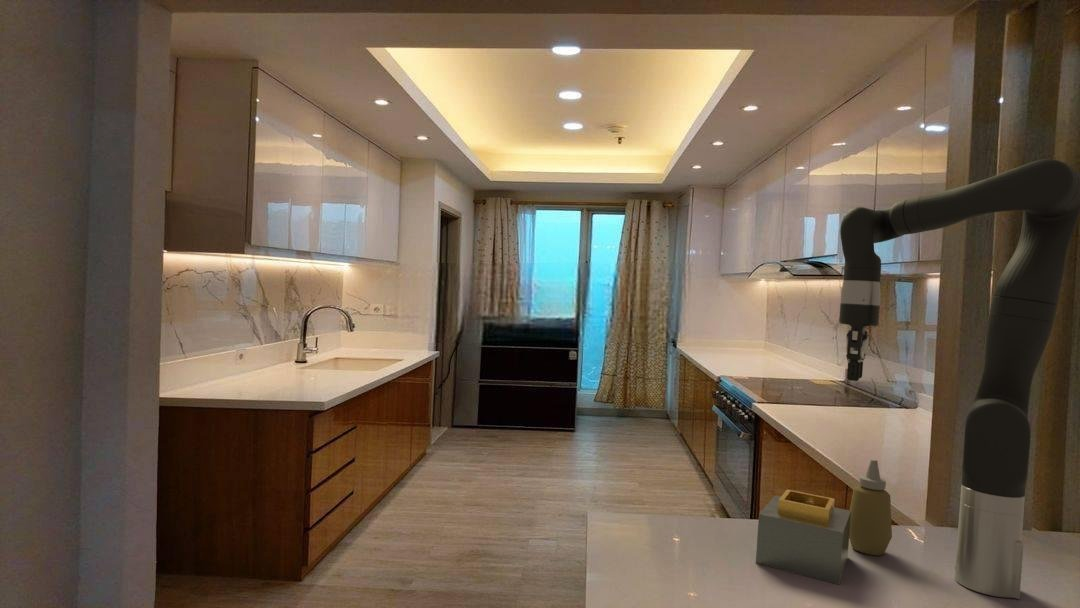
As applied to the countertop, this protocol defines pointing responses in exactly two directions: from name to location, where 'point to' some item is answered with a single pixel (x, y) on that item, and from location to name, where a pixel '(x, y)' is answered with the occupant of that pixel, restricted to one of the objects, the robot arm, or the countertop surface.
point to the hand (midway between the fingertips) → (854, 379)
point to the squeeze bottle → (870, 514)
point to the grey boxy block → (804, 536)
